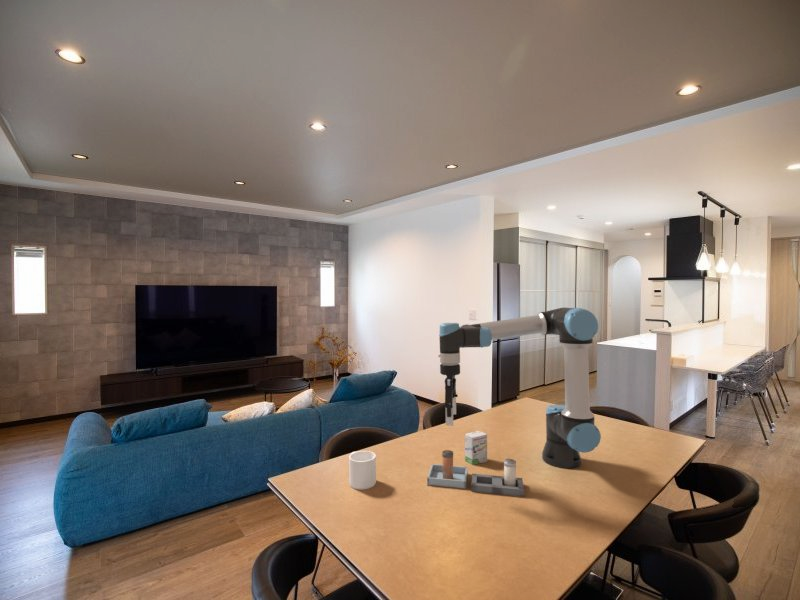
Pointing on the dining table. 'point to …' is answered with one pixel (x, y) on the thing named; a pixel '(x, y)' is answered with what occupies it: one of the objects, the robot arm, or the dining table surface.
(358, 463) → the mug
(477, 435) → the ink box
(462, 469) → the parts tray
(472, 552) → the dining table surface
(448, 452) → the fuse
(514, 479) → the cylinder
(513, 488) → the block
